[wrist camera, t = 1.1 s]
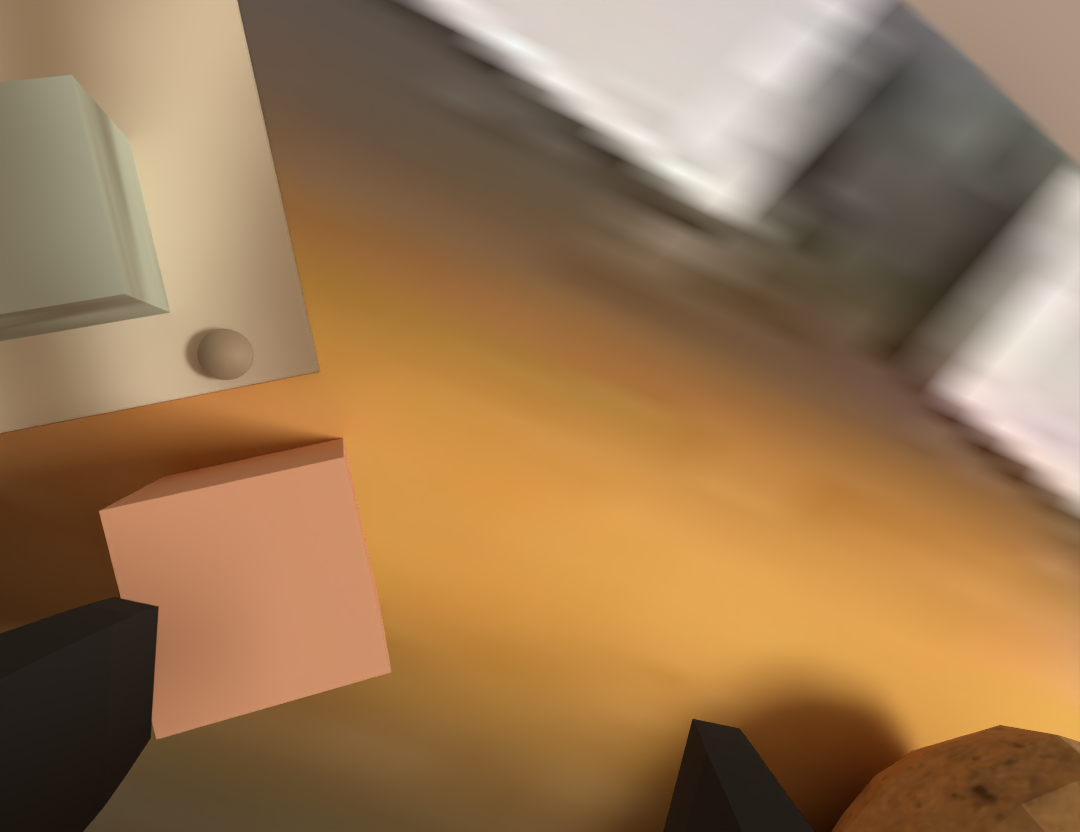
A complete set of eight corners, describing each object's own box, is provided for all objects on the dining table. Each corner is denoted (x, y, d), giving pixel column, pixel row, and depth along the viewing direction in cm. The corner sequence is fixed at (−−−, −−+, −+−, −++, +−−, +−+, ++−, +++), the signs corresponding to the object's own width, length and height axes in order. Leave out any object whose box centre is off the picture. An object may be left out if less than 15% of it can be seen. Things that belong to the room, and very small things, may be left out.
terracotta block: (205, 644, 20) (157, 739, 15) (164, 475, 20) (98, 510, 14) (378, 598, 21) (391, 671, 16) (342, 437, 21) (344, 457, 15)
